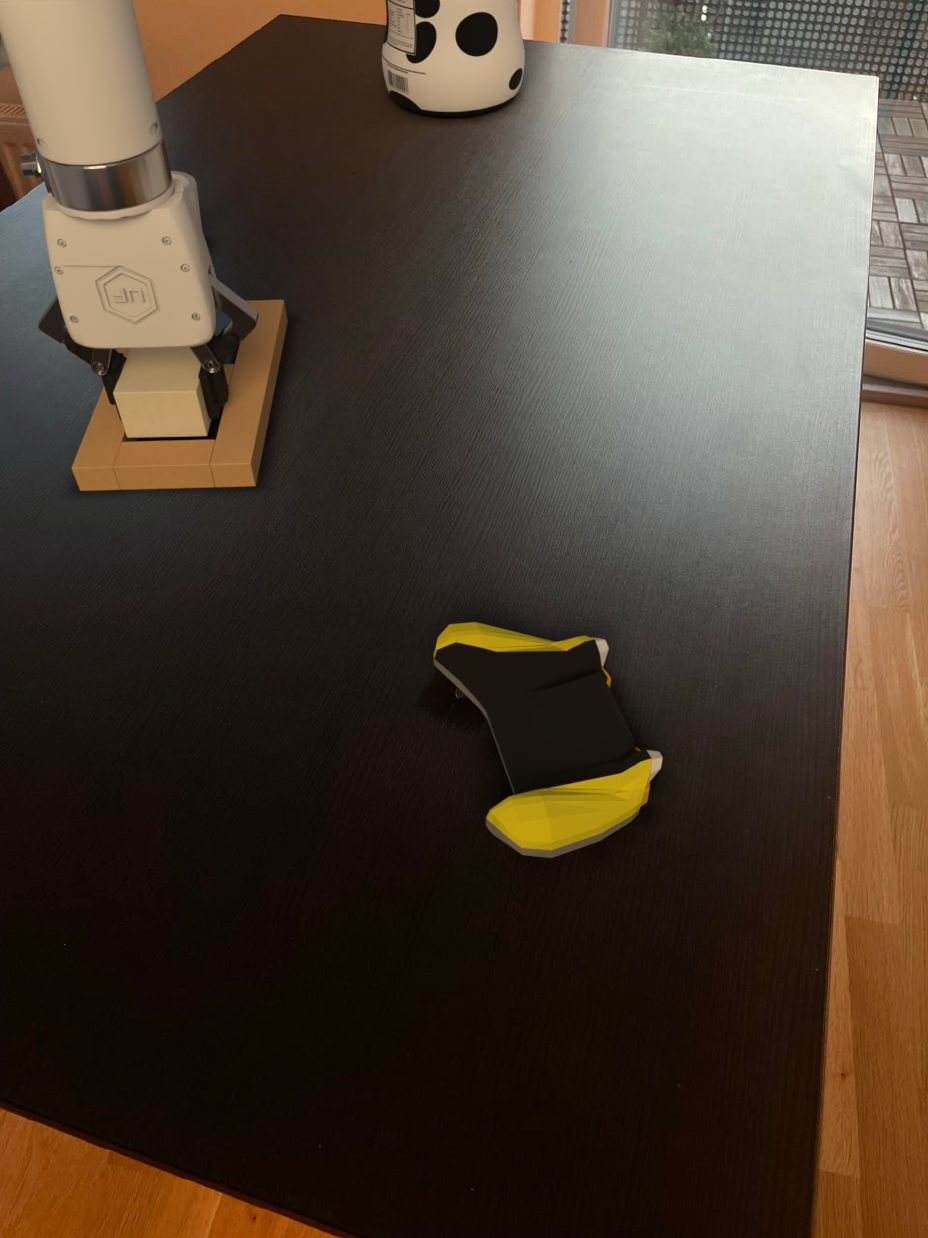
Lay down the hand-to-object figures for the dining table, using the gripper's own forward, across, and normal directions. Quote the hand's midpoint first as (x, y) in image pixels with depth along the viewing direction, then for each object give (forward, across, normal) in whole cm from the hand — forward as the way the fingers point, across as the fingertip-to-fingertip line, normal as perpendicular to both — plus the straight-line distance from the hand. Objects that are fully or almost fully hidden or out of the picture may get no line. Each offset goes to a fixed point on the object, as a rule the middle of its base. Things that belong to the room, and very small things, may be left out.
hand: (172, 407), depth 76 cm
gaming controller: (+3, +26, -31) cm, 41 cm away
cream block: (+1, 0, 0) cm, 1 cm away
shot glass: (+3, -6, +30) cm, 31 cm away
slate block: (+3, 0, +10) cm, 10 cm away
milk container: (+3, +22, +68) cm, 72 cm away
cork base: (+3, 0, +5) cm, 6 cm away
